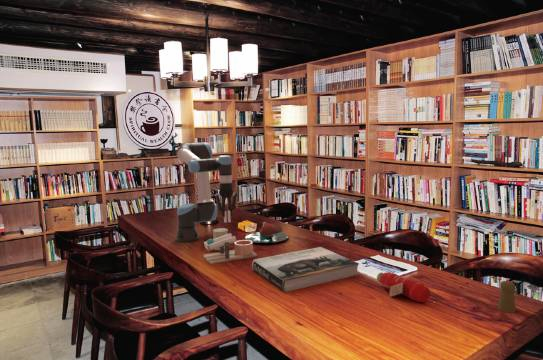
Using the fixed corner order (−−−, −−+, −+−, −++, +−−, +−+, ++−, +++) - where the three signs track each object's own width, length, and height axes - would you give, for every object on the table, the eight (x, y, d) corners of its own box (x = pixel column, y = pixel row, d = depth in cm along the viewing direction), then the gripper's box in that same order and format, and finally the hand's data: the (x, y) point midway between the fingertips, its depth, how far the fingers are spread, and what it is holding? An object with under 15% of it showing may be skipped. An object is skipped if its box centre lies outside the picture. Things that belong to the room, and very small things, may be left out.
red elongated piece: (412, 293, 156) (366, 274, 177) (414, 311, 158) (368, 291, 179) (432, 281, 162) (385, 265, 183) (433, 299, 164) (387, 281, 185)
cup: (232, 251, 234) (232, 241, 233) (249, 249, 238) (248, 239, 237) (238, 256, 224) (237, 246, 223) (255, 253, 228) (255, 243, 228)
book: (283, 293, 176) (282, 280, 175) (252, 271, 205) (251, 259, 204) (359, 275, 195) (359, 263, 194) (320, 257, 224) (320, 246, 223)
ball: (207, 246, 224) (205, 239, 223) (214, 243, 225) (211, 236, 224) (209, 247, 220) (207, 241, 219) (216, 244, 221) (213, 238, 220)
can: (225, 250, 240) (225, 231, 238) (211, 250, 241) (210, 230, 240) (230, 246, 249) (229, 227, 247) (216, 245, 250) (215, 227, 249)
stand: (203, 256, 229) (202, 239, 228) (247, 249, 240) (247, 233, 239) (210, 264, 216) (209, 246, 215) (257, 256, 227) (256, 239, 226)
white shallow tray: (201, 244, 231) (200, 239, 231) (228, 235, 238) (227, 230, 237) (208, 250, 218) (207, 245, 217) (236, 241, 224) (235, 236, 223)
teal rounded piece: (264, 248, 243) (263, 230, 242) (237, 239, 264) (236, 223, 263) (296, 239, 261) (296, 222, 260) (268, 231, 282) (268, 216, 281)
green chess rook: (494, 306, 157) (495, 279, 156) (508, 305, 158) (510, 278, 156) (504, 313, 151) (505, 285, 150) (519, 312, 152) (521, 284, 150)
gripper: (215, 184, 225) (216, 224, 227) (240, 182, 231) (241, 221, 233) (211, 182, 231) (213, 222, 234) (235, 180, 237) (237, 219, 240)
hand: (227, 221), depth 234 cm, fingers closed
